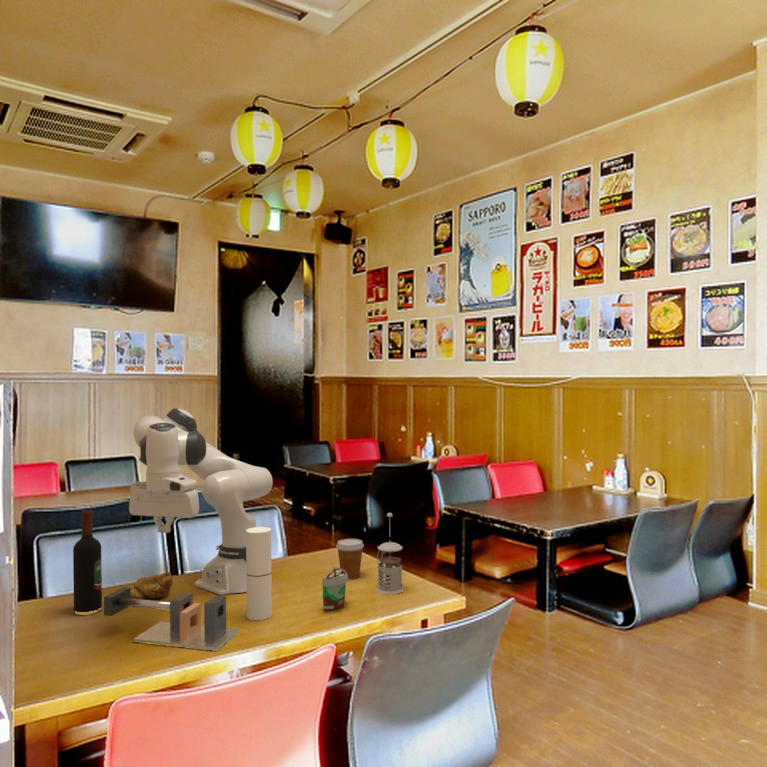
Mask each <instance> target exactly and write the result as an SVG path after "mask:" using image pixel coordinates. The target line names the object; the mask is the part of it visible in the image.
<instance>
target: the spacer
mask: <svg viewBox="0 0 767 767" xmlns="http://www.w3.org/2000/svg"><path fill="white" fill-rule="evenodd" d="M190 617H191V625H190ZM201 625H202V603H198V602H197V603H195V602H194V603H193V604H192V605H191V606H189V607H187V608H186V609H184V610H183V611H181V612H180V639H182V640H188V639H189V638H190V637H192V636H193V635H194V634H196V633H197V632H198V631H200V630H201Z"/></svg>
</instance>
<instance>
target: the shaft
mask: <svg viewBox="0 0 767 767" xmlns="http://www.w3.org/2000/svg"><path fill="white" fill-rule="evenodd" d="M131 591H132V588H131V587H125V586H122V587H120V588H119V589H117V590H114V591H113V592H110V593H109V594H107V595H104V596H103V616H104V617H105V616H106V617H113V616H115V615H116V614H118V613H120V612H122V611H123V610H126V609H127V608H129V607H133V608H142V609H143V608H144V609H155V610H166V611H170V601H161V600H160V601H159V600H141V599H131Z"/></svg>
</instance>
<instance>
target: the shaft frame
mask: <svg viewBox="0 0 767 767" xmlns="http://www.w3.org/2000/svg"><path fill="white" fill-rule="evenodd" d="M193 595H194V594H193V593H191V592H181V593H180V594H178V595H176V596H174V597H173V598H171V599H170V600H169V602H170V610H169V622H168V621H159V622H157V623H155V624H154V625H153V626H151V627H149V628H147V630H145V631H143V632H141V633H140V634H139V635H137V636H135V637H134V638H133V639H132V641H141V642H150V643H159V644H168V645H177V646H182V647H189V648H197V649H205V650H215V651H216V650H218V649H219V648H220V647H221V646H222V647H224V646H225V645H226V644H227V643H228V642H229V641H231V640H232V639H233V638H234V637H236V636H237V635H238V634H239V630H240V629H239V628H230V627H229V628H228V627H227V596H226V595H219V594H216V595H214V596H212V597H211V598H210V599H208V600H206V601H205V602H204V603H203V604H204V605H203V607H204V608H203V610H204V611H203V612H204V614H203V616H204V618H203V620H204V622H203V623H204V625H202V624H201V630H200V631H198V632H197V633H196V634H194V635H193V636H192V637H190V638H189V639H188V640H182V639H180V612H181V611H183V610H184V609H186V608H187V607H189V606H191V605H192V604H194V603H193V602H194V599H193V597H194V596H193ZM190 625H191V617H190ZM237 633H238V634H237ZM236 634H237V635H236ZM233 636H234V637H233ZM232 637H233V638H232ZM231 638H232V639H231ZM230 639H231V640H230ZM226 642H227V643H226ZM225 643H226V644H225ZM224 644H225V645H224ZM223 645H224V646H223ZM222 647H221V648H222ZM221 648H220V649H221ZM220 649H219V650H220ZM205 650H204V651H205ZM219 650H218V651H219ZM215 651H214V652H215ZM216 652H217V651H216Z"/></svg>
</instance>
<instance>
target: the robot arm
mask: <svg viewBox="0 0 767 767" xmlns="http://www.w3.org/2000/svg"><path fill="white" fill-rule="evenodd" d="M133 438H134V439H133V440H134V441H135V444H136V445H137V446H138V447H139V459H138V460H139V461H140V462H141V463H142V464H143V465H145V466H146V471H145V473H146V474H145V479H146V480H145V481H140V480H137V481H135V482H133V483H132V484H131V486H130V495H129V503H128V504H129V505H128V512H129V513H130V515H132V516H143V517H145V516H147V517H153V521H154V523H155V525H156V526H157V533H162V534H163V533H165V534H169V533H170V532H171V526H172V524H173V522H174V520H175V518H182V519H183V518H184V519H186V518H187V519H191V518H194V517H196V516H198V514H199V513H200V502H199V501H200V500H199V494H198V491H197V489H195V488H197V484H198V482H197V481H196V480H195V479H193V478H191V477H188V476H186V475H183V474H182V473H181V469H180V466H187V467H188V469H189V470H190V471H191V472H193V473H194V474H195V475H196V476H198V477H199V478H201V479H202V481H203V482H202V486H201V493H202V496H203V499H204V500H205V501H206V502H207V504H209V505H211V507H213V508H214V509H215V511H216V513H217V514H218V517H219V521H220V526H221V528H220V529H221V543H220V545H216V546H215V550H216V551H217V550H218V552H217V555H216V556H215V557H213V559H211V560H210V561H209V562H207V563H206V564H205V565H204V567H203V568H202V575H201V576H202V577H201V578H199V579H198V580H196V581H195V582H194V586H195V587H197V588H200V589H203V590H205V591H209V592H211V593H213V594H216V595H218V596H223V595H227V594H228V595H229V594H238V593H247V579H246V530H247V529H249V528H254V527H257V522H256V518H254V516H253V515H252V514H250V513H248V512H246V511H245V508H244V502H248V501H252V500H257V499H260V498H263V497H264V496H266V495H268V494H269V493H270V492H271V490H272V488H273V483H274V482H273V476H272V473H271V472H270V471H269V469H267V468H266V467H261V466H256V465H253V464H249V463H246V462H243V461H240V460H238V459H235V458H233V457H230V456H228V455H227V454H225V453H223V452H222V451H221V450H219V449H218V448H216V447H215V446H213V445H212V444H210V443H208V442H206V439H205V437H204V436H203V435H202V433H200V432H199V430H198V424H197V421H196V419H195V417H194V416H193V415H192V413H190V412H189V411H188V410H185V409H182V408H177V407H176V408H175V407H173V408H172V409H171V410H169V411H168V413H166V416H165V417H163V419H162V418H161V417H159V416H157V415H145V416H142V417H141V418H140V419H138V420H137V421H136V423H135V425H134V427H133ZM163 517H164V519H165V522H166V523H165V524H164V522H163V521H162V519H163Z"/></svg>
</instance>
